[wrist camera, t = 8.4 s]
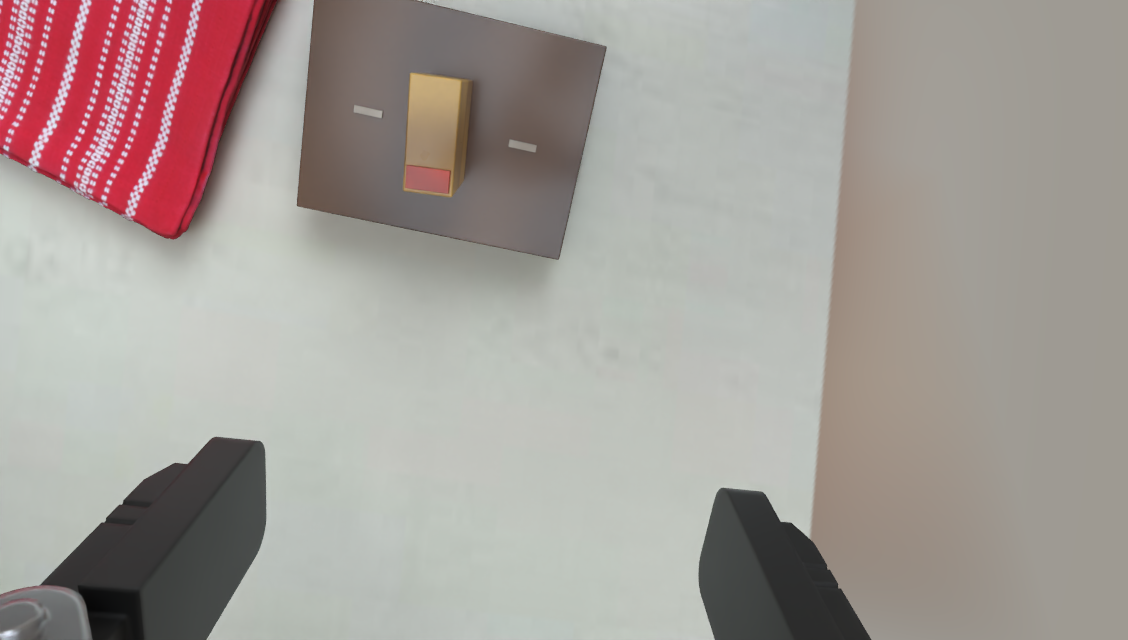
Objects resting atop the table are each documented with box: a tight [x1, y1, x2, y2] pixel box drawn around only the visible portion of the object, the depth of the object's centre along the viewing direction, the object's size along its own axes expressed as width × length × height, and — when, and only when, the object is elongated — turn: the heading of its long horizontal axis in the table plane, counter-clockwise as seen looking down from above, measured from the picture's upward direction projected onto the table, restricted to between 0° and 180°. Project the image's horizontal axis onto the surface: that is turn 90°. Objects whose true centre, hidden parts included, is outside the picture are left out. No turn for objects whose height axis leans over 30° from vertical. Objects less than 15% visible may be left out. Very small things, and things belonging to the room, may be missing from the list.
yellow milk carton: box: [403, 73, 473, 198], centre depth 31 cm, size 5×2×5 cm, turn 172°
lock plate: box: [297, 0, 606, 260], centre depth 35 cm, size 14×11×3 cm
